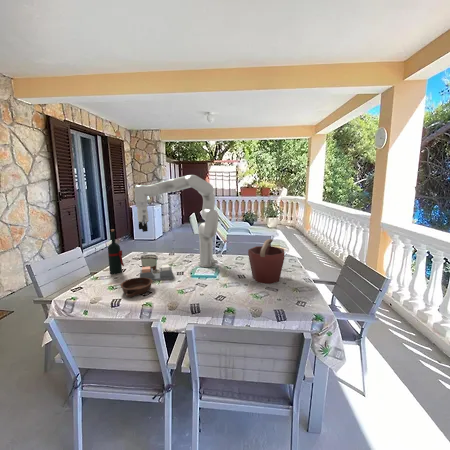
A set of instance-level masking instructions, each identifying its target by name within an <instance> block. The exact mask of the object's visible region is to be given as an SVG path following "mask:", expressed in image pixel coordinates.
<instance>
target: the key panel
mask: <svg viewBox="0 0 450 450" xmlns="http://www.w3.org/2000/svg"><path fill="white" fill-rule="evenodd" d="M139 270H140V271H139V277H138V278H141V277H144V278H150V279H152V281H160V280H161V281H163V280H168V279H170V280H171V279H174V273H173V270H172V266H170V270H167V271H162V268H161V267H159V272H157V273H156V272H155V273H154V271H153V268H152V269H151V272H146V273H142V268H141V269H139Z"/></svg>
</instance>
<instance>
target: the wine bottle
mask: <svg viewBox="0 0 450 450" xmlns="http://www.w3.org/2000/svg"><path fill="white" fill-rule="evenodd" d="M110 236H111V238H110V239H111V243H110V244H108V246H107V253H108V254H107V255H108V256H107V257H108V266H109V268H108V269H109V274H110V275H119V274H121V273H122V272H123V267H125V264H124V262H123V257H122V256H123V250H121V246H120V245H119V244H118V243H117V242H116V233H115V229H110Z"/></svg>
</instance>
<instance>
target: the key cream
mask: <svg viewBox="0 0 450 450" xmlns="http://www.w3.org/2000/svg"><path fill="white" fill-rule="evenodd" d="M170 267H171V266H170V264H162V265H161V267H160V268H162V271H167V270H170Z"/></svg>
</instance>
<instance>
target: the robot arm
mask: <svg viewBox="0 0 450 450" xmlns="http://www.w3.org/2000/svg"><path fill="white" fill-rule="evenodd" d="M190 188H192V189H194V190H195V191H197V192H198V194H200V195H201V197H202V209H201V218H202V220H204V222H201V223H200V225H199V226H198V231H197V232H198V237H199V238H198V239H199V261H198V263H197V265H198V266H199V267H201V268H202V267H203V268H209V267H213V266H215V264H218V263H219V261H218V259H217V260H216V259H215V258H214V256H213V255H214V254H213V250H214V249H213V248H214V247H213V238H214V237H215V236H216V234H217V231H218V227H219V226H218V224H219V213H218V211H217V210H216V209H215V207H216V206H215V205H216V197H215V195H214V186H213V185H212V183H210V182H208V181H207V180H204V179H203V178H201V177H200V176H198V175H195V174H187V175H183V176H179V177H175V178H171V179H167V180H165V181H160V182H157V183H153V184H149V185H140V184H139V185H138V184H137V185H135V186H134V198H135V201H134V202H135V207H136V208H137V209H136V211H137V213H136V214H137V221H138V229H139V230H142V231H141V232H143V233H144V232H148V231H149V229H148V228H149V227H148V222H149V221H150V219H149V211H148V205H149V204H148V197H157V196H159V195H160V194H164V193H165V194H166V193H174V192H179V191H182V190H186V189H190Z"/></svg>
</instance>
